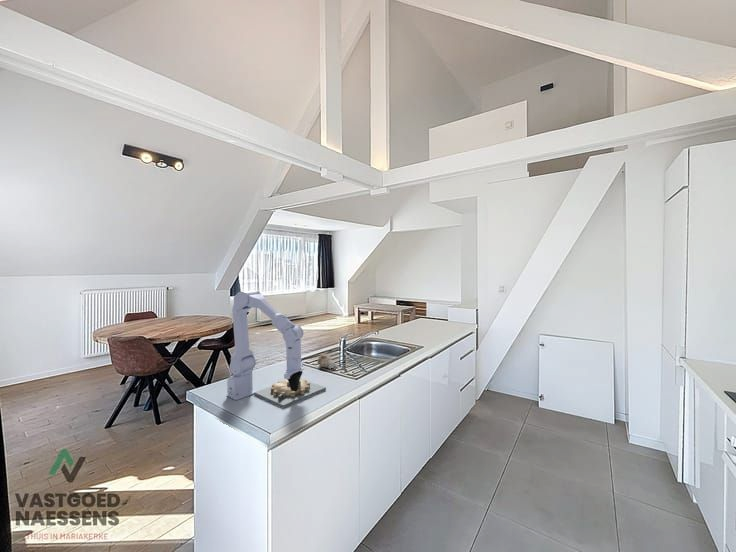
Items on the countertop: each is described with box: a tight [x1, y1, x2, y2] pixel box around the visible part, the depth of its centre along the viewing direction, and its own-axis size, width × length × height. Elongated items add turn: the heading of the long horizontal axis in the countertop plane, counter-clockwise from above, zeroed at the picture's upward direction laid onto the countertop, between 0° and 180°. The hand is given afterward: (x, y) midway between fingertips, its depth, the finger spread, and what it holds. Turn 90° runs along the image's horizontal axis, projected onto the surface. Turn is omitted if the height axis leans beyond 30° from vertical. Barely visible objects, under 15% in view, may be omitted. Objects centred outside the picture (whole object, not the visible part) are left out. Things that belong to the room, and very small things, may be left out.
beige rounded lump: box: [317, 352, 338, 370], centre depth 165 cm, size 8×10×10 cm
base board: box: [253, 378, 327, 409], centre depth 131 cm, size 22×20×3 cm
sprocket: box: [271, 379, 311, 397], centre depth 131 cm, size 16×16×5 cm
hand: (294, 390), depth 123 cm, fingers closed
